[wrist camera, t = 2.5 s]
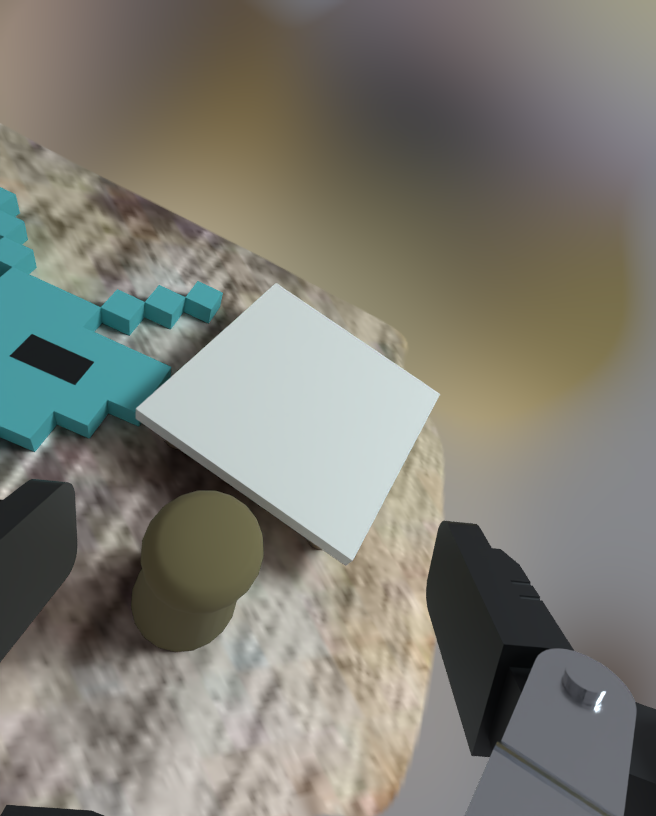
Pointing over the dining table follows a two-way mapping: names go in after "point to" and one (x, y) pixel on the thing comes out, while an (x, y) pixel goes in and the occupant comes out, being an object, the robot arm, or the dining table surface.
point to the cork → (195, 569)
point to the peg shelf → (295, 419)
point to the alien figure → (73, 346)
